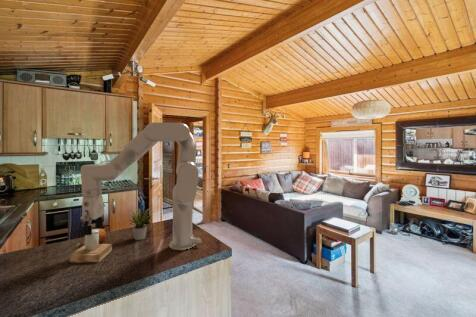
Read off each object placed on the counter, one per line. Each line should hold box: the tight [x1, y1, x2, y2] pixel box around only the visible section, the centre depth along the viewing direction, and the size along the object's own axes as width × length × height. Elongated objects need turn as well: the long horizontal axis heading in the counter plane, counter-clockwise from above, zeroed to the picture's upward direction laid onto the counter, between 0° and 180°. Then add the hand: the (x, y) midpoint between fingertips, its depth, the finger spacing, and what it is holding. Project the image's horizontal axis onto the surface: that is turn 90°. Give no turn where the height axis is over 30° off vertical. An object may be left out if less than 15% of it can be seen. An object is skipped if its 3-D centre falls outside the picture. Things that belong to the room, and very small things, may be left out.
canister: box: [84, 228, 100, 251], centre depth 109 cm, size 6×6×8 cm
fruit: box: [98, 228, 107, 244], centre depth 125 cm, size 8×8×8 cm
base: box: [69, 243, 113, 263], centre depth 110 cm, size 12×12×3 cm
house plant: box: [128, 208, 155, 241], centre depth 132 cm, size 14×14×16 cm
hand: (93, 230), depth 110 cm, fingers open, 9 cm apart
